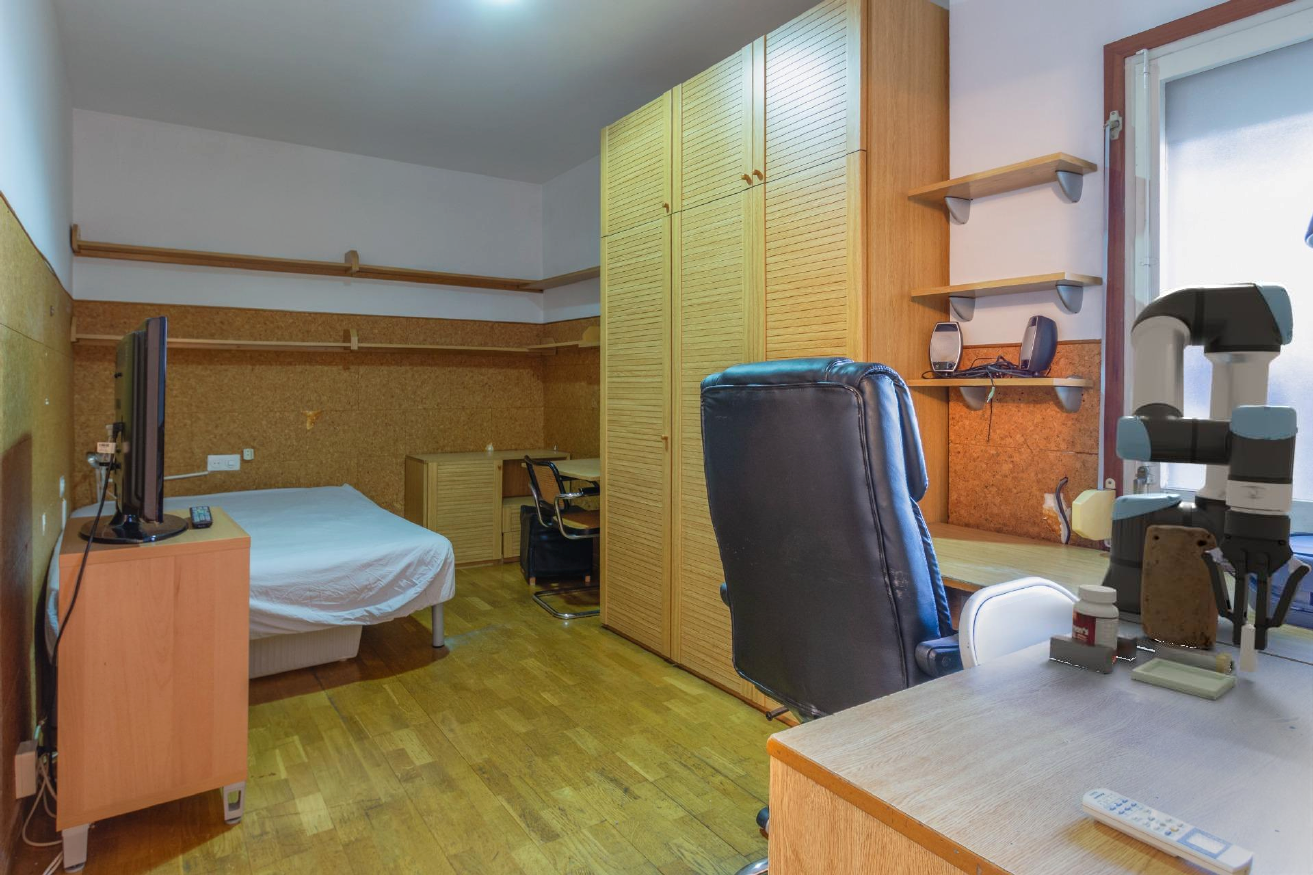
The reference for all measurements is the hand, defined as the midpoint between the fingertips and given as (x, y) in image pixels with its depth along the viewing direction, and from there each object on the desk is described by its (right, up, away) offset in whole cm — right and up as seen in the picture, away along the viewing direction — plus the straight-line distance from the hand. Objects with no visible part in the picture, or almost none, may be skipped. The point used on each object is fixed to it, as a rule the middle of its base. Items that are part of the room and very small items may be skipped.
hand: (1247, 669), depth 110 cm
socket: (-19, -1, +7) cm, 20 cm away
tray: (-11, -1, -2) cm, 11 cm away
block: (+2, -1, +18) cm, 18 cm away
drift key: (-5, -1, +6) cm, 8 cm away
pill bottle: (-19, -1, +7) cm, 20 cm away
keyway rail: (-4, -1, +10) cm, 11 cm away
